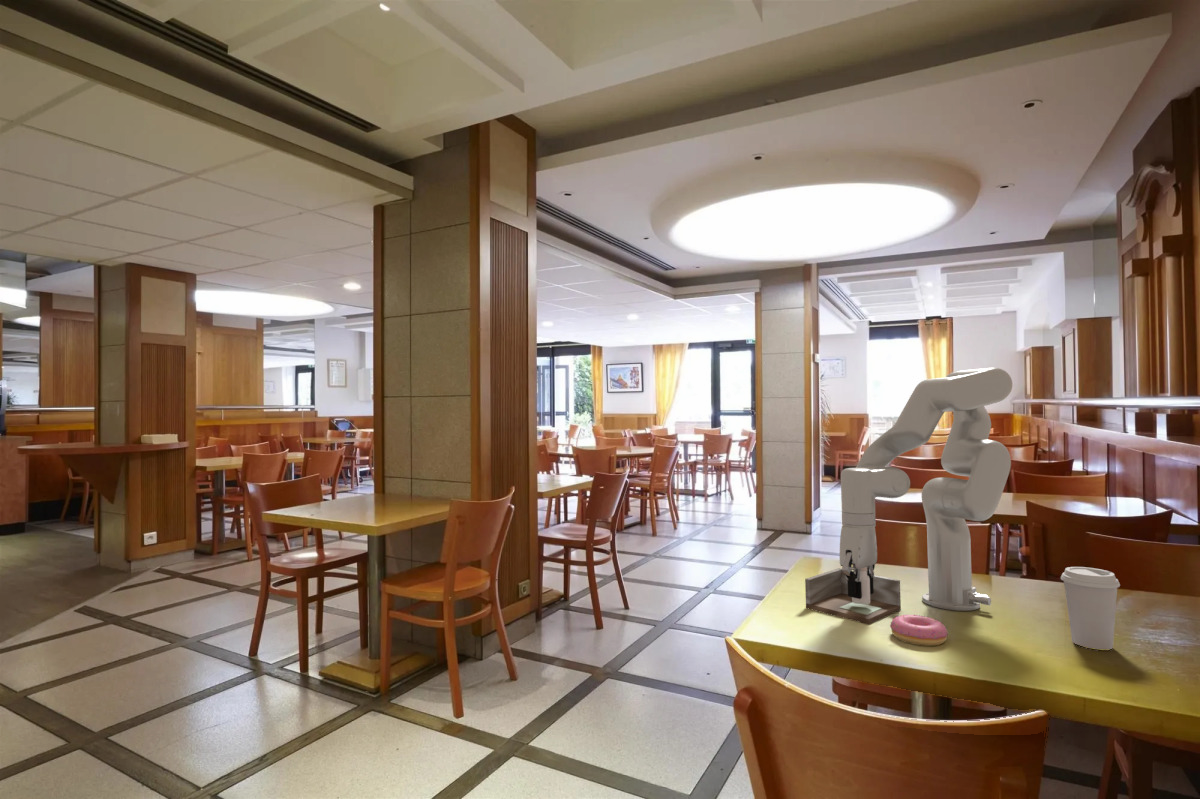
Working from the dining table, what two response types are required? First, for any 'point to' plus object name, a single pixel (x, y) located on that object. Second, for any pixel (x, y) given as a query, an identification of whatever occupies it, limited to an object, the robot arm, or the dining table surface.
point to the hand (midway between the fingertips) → (860, 594)
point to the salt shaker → (863, 587)
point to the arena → (833, 597)
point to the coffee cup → (1091, 605)
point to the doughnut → (919, 630)
